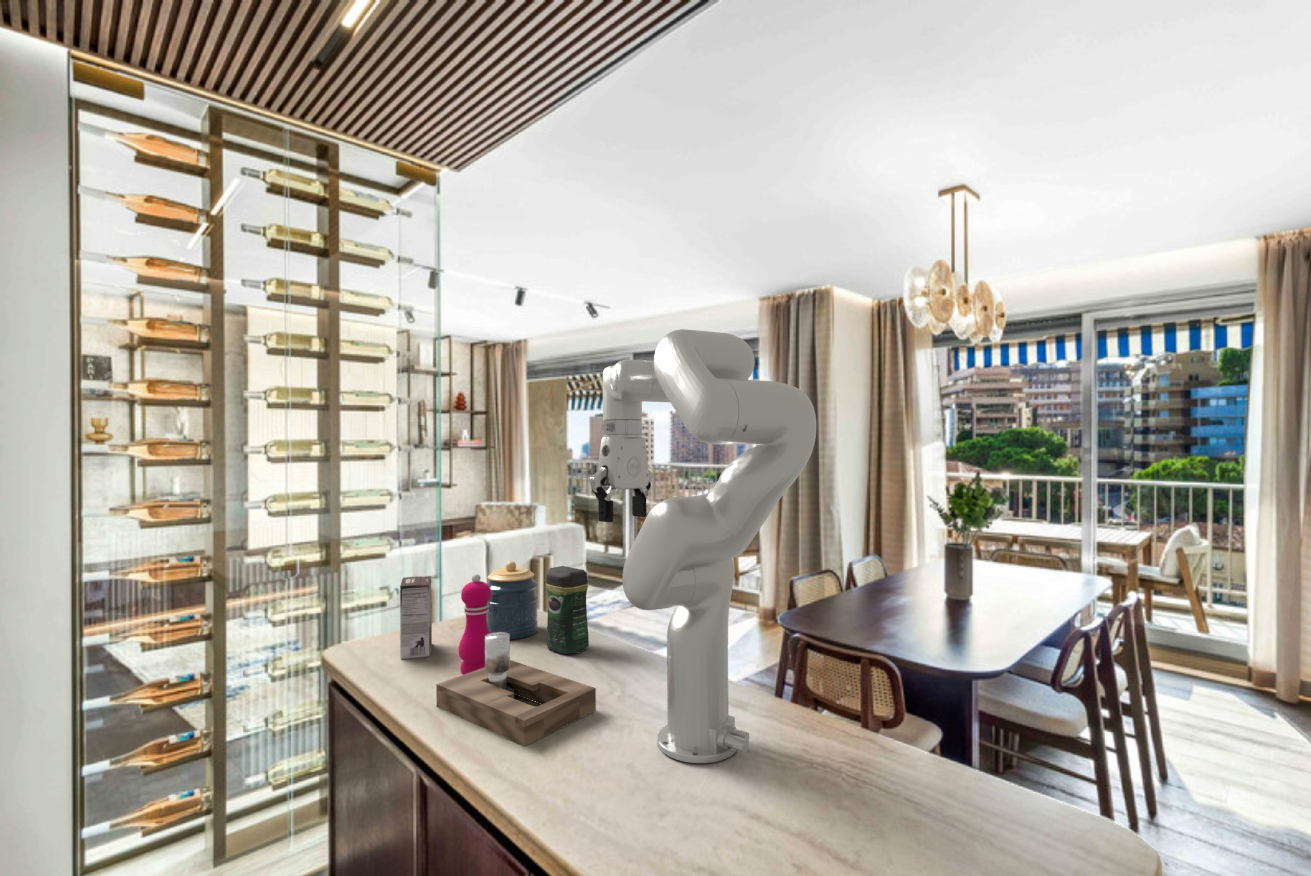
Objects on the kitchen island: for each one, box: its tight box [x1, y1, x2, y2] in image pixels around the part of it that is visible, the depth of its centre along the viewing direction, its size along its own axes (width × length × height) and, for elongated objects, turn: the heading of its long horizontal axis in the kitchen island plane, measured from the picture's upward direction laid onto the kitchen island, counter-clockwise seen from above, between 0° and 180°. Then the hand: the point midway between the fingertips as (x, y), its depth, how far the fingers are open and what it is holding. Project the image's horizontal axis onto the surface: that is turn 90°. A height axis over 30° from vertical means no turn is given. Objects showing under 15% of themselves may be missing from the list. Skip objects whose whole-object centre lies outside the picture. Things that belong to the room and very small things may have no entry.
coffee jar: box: [545, 565, 590, 655], centre depth 143 cm, size 10×8×19 cm
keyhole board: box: [435, 659, 597, 747], centre depth 111 cm, size 24×16×4 cm, turn 52°
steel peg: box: [485, 632, 516, 700], centre depth 114 cm, size 6×6×12 cm
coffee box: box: [399, 575, 433, 660], centre depth 142 cm, size 9×6×16 cm
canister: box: [486, 560, 539, 640], centre depth 155 cm, size 13×13×18 cm
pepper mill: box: [457, 573, 491, 675], centre depth 130 cm, size 7×7×20 cm
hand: (623, 518), depth 120 cm, fingers open, 9 cm apart
